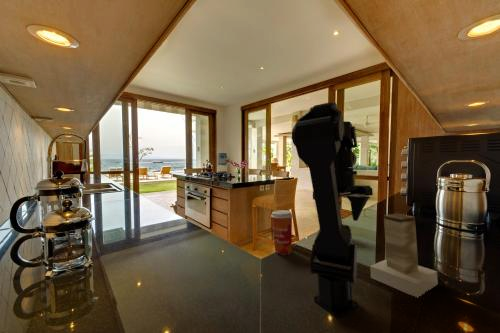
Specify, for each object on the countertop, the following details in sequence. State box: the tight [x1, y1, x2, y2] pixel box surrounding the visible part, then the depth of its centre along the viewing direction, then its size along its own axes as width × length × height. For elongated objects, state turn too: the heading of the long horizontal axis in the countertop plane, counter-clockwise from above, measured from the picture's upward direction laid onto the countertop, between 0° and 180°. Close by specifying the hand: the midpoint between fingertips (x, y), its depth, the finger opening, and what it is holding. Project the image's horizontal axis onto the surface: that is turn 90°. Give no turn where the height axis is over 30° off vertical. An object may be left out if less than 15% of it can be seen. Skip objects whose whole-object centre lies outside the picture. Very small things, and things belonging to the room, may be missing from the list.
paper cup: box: [270, 209, 294, 255], centre depth 72 cm, size 8×8×14 cm
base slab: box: [370, 258, 439, 299], centre depth 51 cm, size 10×10×3 cm
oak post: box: [383, 213, 419, 274], centre depth 51 cm, size 4×4×13 cm
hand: (345, 223), depth 58 cm, fingers open, 9 cm apart
